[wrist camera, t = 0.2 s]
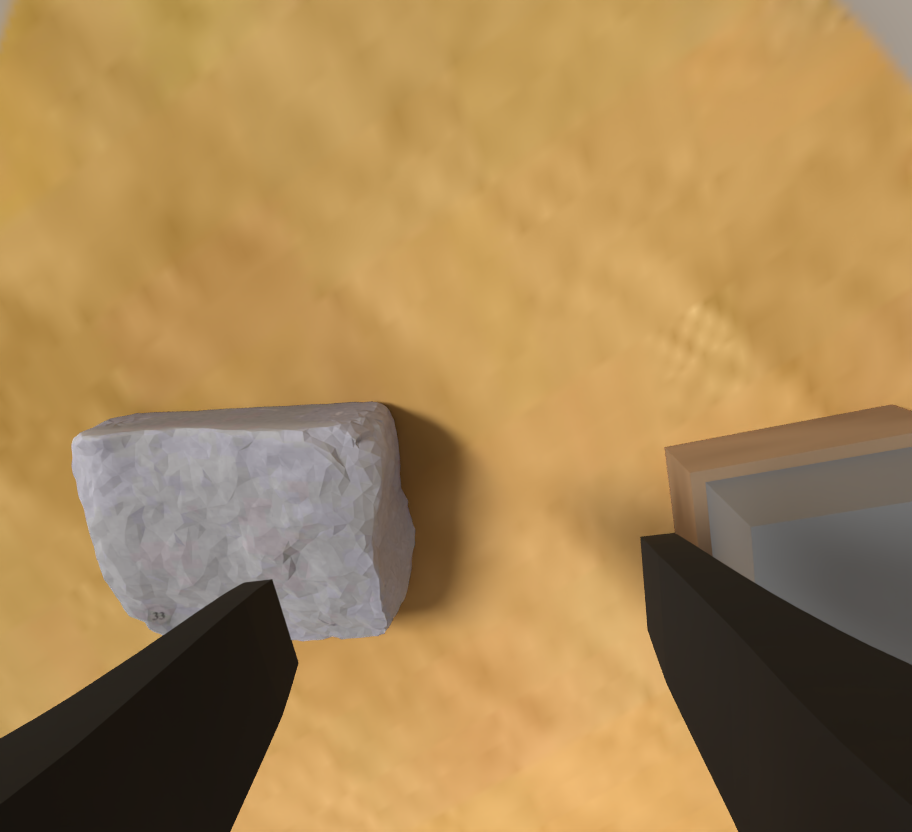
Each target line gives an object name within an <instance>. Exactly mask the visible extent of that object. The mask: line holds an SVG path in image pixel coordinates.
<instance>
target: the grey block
mask: <svg viewBox="0 0 912 832" xmlns="http://www.w3.org/2000/svg"><path fill="white" fill-rule="evenodd" d="M705 484H706V494H707V504H708V514H709V524H710V534H711V544H712V555H713V557H714V558H716V559H717V560H719V561H721V562H722V563H724V564H725V565H727V566H728V567H730V568H732V569H733V570H735V571H736V572H738V573H740V574H741V575H743V576H745V577H746V578H748V579H749V580H751V581H753V582H754V583H756V584H758V585H759V586H761V587H763V588H764V589H766V590H768V591H770V592H771V593H773V594H775V595H776V596H778V597H780V598H782V599H783V600H785V601H787V602H789V603H790V604H792V605H794V606H796V607H797V608H799V609H801V610H803V611H805V612H807V613H809V614H810V615H812V616H814V617H816V618H818V619H820V620H822V621H823V622H825V623H827V624H829V625H831V626H833V627H835V628H837V629H838V630H840V631H842V632H844V633H846V634H848V635H850V636H852V637H854V638H856V639H858V640H860V641H862V642H864V643H866V644H868V645H870V646H872V647H875V648H877V649H879V650H881V651H883V652H885V653H887V654H890V655H892V656H894V657H896V658H898V659H900V660H903V661H905V662H907V663H909V664H911V665H912V447H908V448H902V449H896V450H891V451H885V452H879V453H873V454H867V455H861V456H856V457H850V458H844V459H838V460H832V461H826V462H820V463H815V464H809V465H803V466H797V467H791V468H785V469H779V470H774V471H768V472H762V473H756V474H750V475H744V476H739V477H733V478H727V479H721V480H715V481H709V482H705Z"/></svg>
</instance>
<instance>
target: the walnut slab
mask: <svg viewBox="0 0 912 832" xmlns="http://www.w3.org/2000/svg"><path fill="white" fill-rule="evenodd" d="M908 447H912V411H910V410H907V409H904V408H901V407H898V406H895V405H886V406H881V407H876V408H871V409H865V410H860V411H855V412H849V413H844V414H839V415H833V416H828V417H823V418H817V419H812V420H807V421H801V422H796V423H791V424H786V425H780V426H775V427H770V428H764V429H759V430H754V431H748V432H743V433H738V434H732V435H727V436H722V437H717V438H711V439H706V440H701V441H695V442H690V443H685V444H679V445H674V446H669V447H664V448H665V456H666V464H667V472H668V480H669V487H670V495H671V503H672V511H673V519H674V527H675V533H676V534H677V535H679V536H681V537H683V538H684V539H686V540H687V541H689V542H691V543H692V544H694V545H695V546H697V547H699V548H700V549H702V550H703V551H705V552H706V553H708V554H709V555H711V556H713V555H712V544H711V534H710V524H709V514H708V504H707V494H706V484H705V482H709V481H715V480H721V479H727V478H733V477H739V476H744V475H750V474H756V473H762V472H768V471H774V470H779V469H785V468H791V467H797V466H803V465H809V464H815V463H820V462H826V461H832V460H838V459H844V458H850V457H856V456H861V455H867V454H873V453H879V452H885V451H891V450H896V449H902V448H908Z"/></svg>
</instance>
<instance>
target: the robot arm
mask: <svg viewBox="0 0 912 832" xmlns="http://www.w3.org/2000/svg"><path fill="white" fill-rule="evenodd" d="M641 550H642V563H643V576H644V589H645V602H646V615H647V628H648V632H649V635H650V638H651V641H652V644H653V647H654V650H655V653H656V655H657V658H658V661H659V664H660V667H661V669H662V672H663V675H664V678H665V680H666V683H667V685H668V687H669V690H670V692H671V694H672V696H673V698H674V700H675V702H676V704H677V706H678V708H679V710H680V712H681V715H682V717H683V719H684V721H685V723H686V725H687V727H688V729H689V731H690V733H691V735H692V737H693V739H694V741H695V743H696V745H697V747H698V749H699V752H700V754H701V756H702V758H703V760H704V762H705V764H706V766H707V768H708V770H709V772H710V774H711V776H712V778H713V780H714V782H715V784H716V786H717V788H718V790H719V792H720V794H721V797H722V799H723V801H724V803H725V805H726V807H727V809H728V811H729V813H730V815H731V817H732V819H733V821H734V823H735V825H736V828H737V830H738V832H912V665H911V664H909V663H907V662H905V661H903V660H900V659H898V658H896V657H894V656H892V655H890V654H887V653H885V652H883V651H881V650H879V649H877V648H875V647H872V646H870V645H868V644H866V643H864V642H862V641H860V640H858V639H856V638H854V637H852V636H850V635H848V634H846V633H844V632H842V631H840V630H838V629H837V628H835V627H833V626H831V625H829V624H827V623H825V622H823V621H822V620H820V619H818V618H816V617H814V616H812V615H810V614H809V613H807V612H805V611H803V610H801V609H799V608H797V607H796V606H794V605H792V604H790V603H789V602H787V601H785V600H783V599H782V598H780V597H778V596H776V595H775V594H773V593H771V592H770V591H768V590H766V589H764V588H763V587H761V586H759V585H758V584H756V583H754V582H753V581H751V580H749V579H748V578H746V577H745V576H743V575H741V574H740V573H738V572H736V571H735V570H733V569H732V568H730V567H728V566H727V565H725V564H724V563H722V562H721V561H719V560H717V559H716V558H714V557H713V556H711V555H709V554H708V553H706V552H705V551H703V550H702V549H700V548H699V547H697V546H695V545H694V544H692V543H691V542H689V541H687V540H686V539H684V538H683V537H681V536H679V535H677V534H676V533H670V534H661V535H653V536H644V537H641ZM297 666H298V660H297V656H296V653H295V650H294V647H293V644H292V640H291V637H290V634H289V631H288V628H287V624H286V621H285V618H284V615H283V612H282V608H281V605H280V602H279V599H278V595H277V592H276V589H275V586H274V583H273V579H269V580H261V581H252V582H244V583H242V584H240V585H238V586H237V587H235V588H233V589H231V590H230V591H228V592H226V593H225V594H223V595H222V596H220V597H219V598H217V599H216V600H214V601H213V602H211V603H209V604H208V605H207V606H205V607H204V608H202V609H201V610H199V611H198V612H196V613H195V614H193V615H192V616H190V617H189V618H188V619H186V620H185V621H183V622H182V623H180V624H179V625H177V626H176V627H175V628H173V629H172V630H170V631H169V632H167V633H166V634H164V635H163V636H161V637H160V638H159V639H157V640H156V641H154V642H153V643H151V644H150V645H148V646H147V647H146V648H144V649H143V650H141V651H140V652H138V653H137V654H135V655H134V656H132V657H131V658H129V659H128V660H126V661H125V662H123V663H122V664H120V665H119V666H117V667H115V668H114V669H112V670H111V671H109V672H108V673H106V674H105V675H103V676H102V677H100V678H99V679H97V680H96V681H94V682H93V683H91V684H90V685H88V686H87V687H85V688H83V689H82V690H80V691H79V692H77V693H76V694H74V695H73V696H71V697H70V698H68V699H66V700H65V701H63V702H61V703H60V704H58V705H57V706H55V707H53V708H52V709H50V710H48V711H47V712H45V713H43V714H42V715H40V716H38V717H37V718H35V719H33V720H32V721H30V722H28V723H26V724H25V725H23V726H21V727H20V728H18V729H16V730H14V731H13V732H11V733H9V734H7V735H6V736H4V737H2V738H0V832H230V831H231V829H232V827H233V824H234V822H235V820H236V818H237V816H238V813H239V811H240V809H241V807H242V805H243V802H244V800H245V798H246V796H247V794H248V791H249V789H250V787H251V785H252V783H253V780H254V778H255V776H256V774H257V772H258V769H259V767H260V765H261V763H262V761H263V758H264V756H265V754H266V752H267V749H268V747H269V745H270V743H271V740H272V738H273V736H274V734H275V731H276V729H277V727H278V724H279V722H280V720H281V717H282V715H283V712H284V709H285V706H286V703H287V700H288V697H289V694H290V690H291V687H292V684H293V680H294V677H295V673H296V670H297Z"/></svg>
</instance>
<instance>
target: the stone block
mask: <svg viewBox="0 0 912 832" xmlns="http://www.w3.org/2000/svg"><path fill="white" fill-rule="evenodd" d="M72 455H73V460H72V470H73V475H74V477H75V479H76V482H77V489H78V495H79V498H80V500H81V503H82V505H83V507H84V511H85V516H86V521H87V525H88V529H89V533H90V536H91V539H92V542H93V545H94V549H95V553H96V558H97V560H98V562H99V566H100V569H101V572H102V575H103V578H104V580H105V581H106V582H107V584H108V585H109V587H110V588H111V590H112V591H113V593H114V594H115V596H116V597H117V598H118V600H119V601H120V602H121V604H122V606H123V608H124V610H125V611H126V612H127V614H128V615H129V616H130V617H133V618H135V619H138V620H141V621H143V622H145V623H146V625H147V626H148V628H149V629H150V630H152V631H153V632H156V633H159V634H161V635H164V634H166V633H167V632H169V631H170V630H172V629H173V628H175V627H176V626H177V625H179V624H180V623H182V622H183V621H185V620H186V619H188V618H189V617H190V616H192V615H193V614H195V613H196V612H198V611H199V610H201V609H202V608H204V607H205V606H207V605H208V604H209V603H211V602H213V601H214V600H216V599H217V598H219V597H220V596H222V595H223V594H225V593H226V592H228V591H230V590H231V589H233V588H235V587H237V586H238V585H240V584H242V583H244V582H252V581H261V580H269V579H273V583H274V586H275V589H276V592H277V595H278V599H279V602H280V605H281V608H282V612H283V615H284V618H285V621H286V624H287V628H288V631H289V634H290V637H291V640H299V641H309V640H321V639H326V638H329V637H331V636H333V637H338V638H340V639H348V638H361V637H370V636H379V635H381V634H385V631H386V630H387V629H388V627H389V626H390V624H391V622H392V621H393V618H394V617H395V615H396V614H397V612H398V610H399V607H400V605H401V603H402V602H403V601H404V599H405V596H406V593H407V589H408V585H409V579H410V574H411V570H412V553H413V549H414V546H415V527H414V526H413V523H412V519H411V516H410V513H409V508H408V499H407V498H406V496H405V494H404V492H403V491H402V489H401V479H400V454H399V444H398V438H397V431H396V428H395V421H394V419H393V418H392V416H391V413H390V411H389V409H388V408H387V407H386V406H385V405H383V404H381V403H377V402H348V403H334V404H314V405H296V406H276V407H255V408H236V409H218V410H203V411H183V412H154V413H136V414H132V415H127V416H122V417H117V418H112V419H109V420H107V421H104V422H102V423H100V424H99V425H97V426H95V427H93V428H91V429H88V430H86V431H83V432H81V433H79V434H78V435H77V436H76V437H75V438H74V439H73V442H72Z"/></svg>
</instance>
